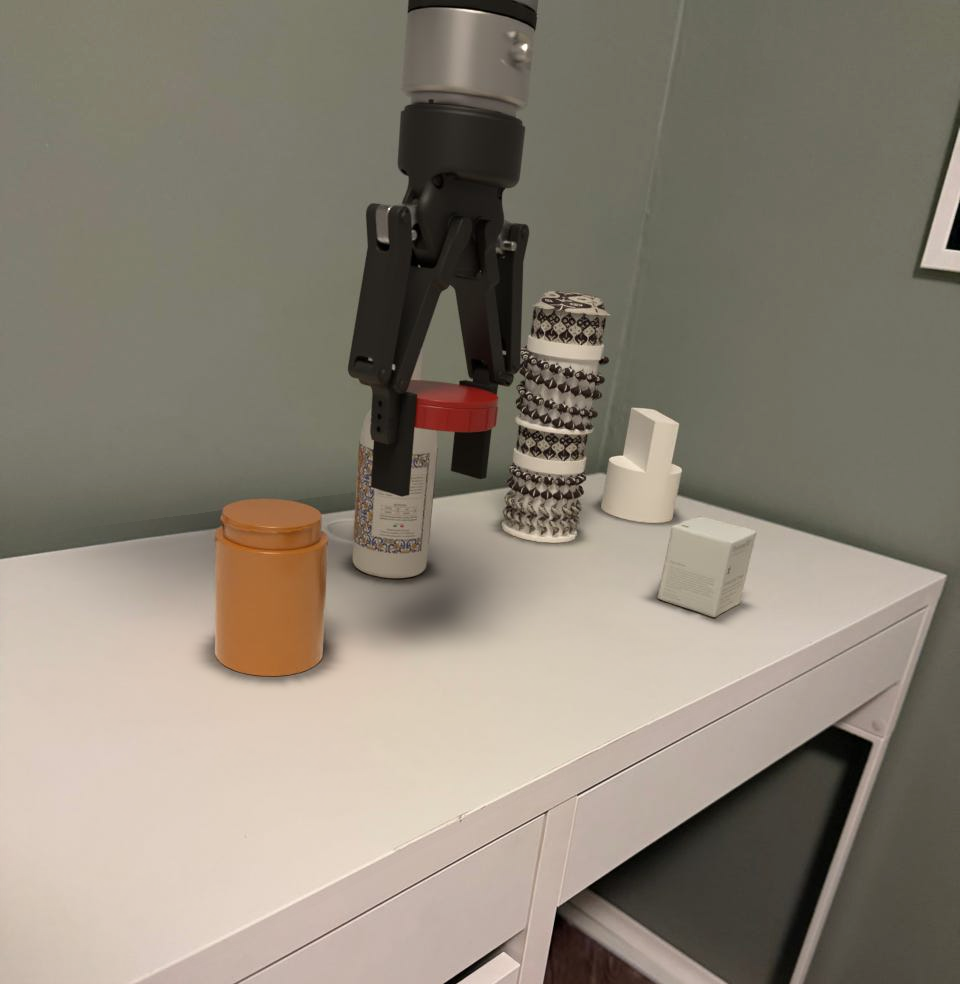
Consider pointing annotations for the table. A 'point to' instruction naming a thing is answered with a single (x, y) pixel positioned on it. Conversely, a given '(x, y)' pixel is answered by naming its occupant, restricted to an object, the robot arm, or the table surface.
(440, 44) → the robot arm
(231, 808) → the table surface
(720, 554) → the product box
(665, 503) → the cylinder with rectangular tab
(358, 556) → the bath foam
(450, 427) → the lid
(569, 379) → the decorative candle
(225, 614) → the jam jar
